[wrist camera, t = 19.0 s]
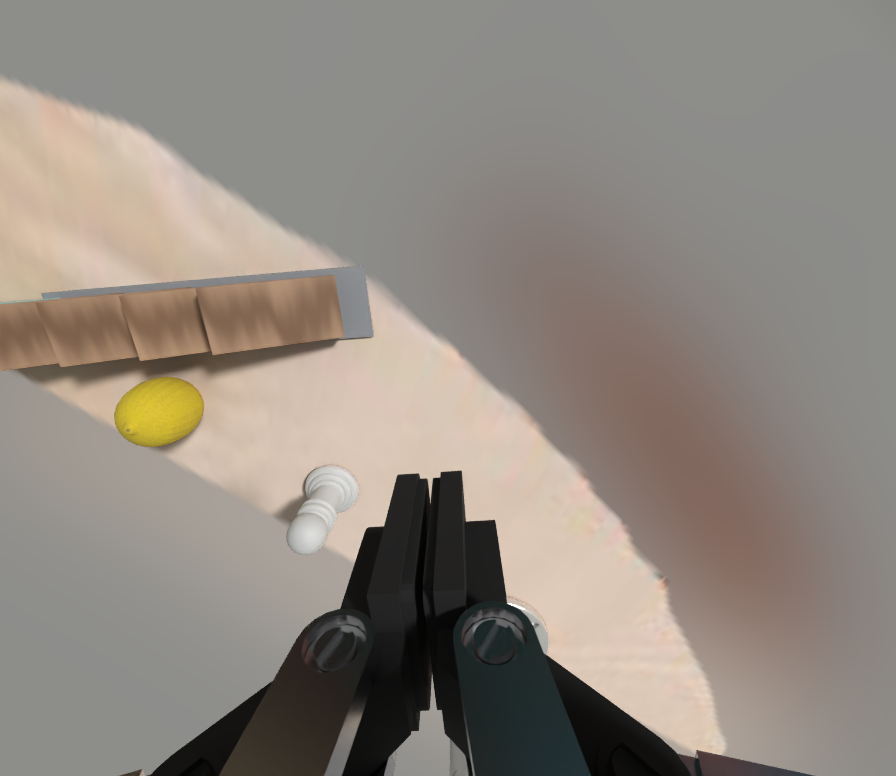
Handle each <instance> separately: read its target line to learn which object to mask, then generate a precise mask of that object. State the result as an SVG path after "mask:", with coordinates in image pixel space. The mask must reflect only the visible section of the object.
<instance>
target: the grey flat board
mask: <svg viewBox="0 0 896 776" xmlns="http://www.w3.org/2000/svg"><path fill="white" fill-rule="evenodd" d="M326 275H335V280H336V286H337V293H338V299H339V305H340V311H341V318H342V324H343V330H344V336H345V337H342V338H334V339H346V338H359V337H372V336H374V335H373V328H372V321H371V314H370V307H369V300H368V293H367V286H366V279H365V271H364V266H354V267H342V268H330V269H319V270H307V271H295V272H284V273H272V274H260V275H249V276H237V277H225V278H214V279H202V280H190V281H179V282H167V283H155V284H143V285H132V286H120V287H108V288H97V289H85V290H73V291H62V292H50V293H41V294H42V297H43V299H49V298H70V297H80V296H91V295H101V294H112V293H122V292H123V293H133V292H143V291H153V290H163V289H174V288H184V287H192V288H195V287H206V286H216V285H226V284H236V283H246V282H256V281H272V280H283V279H294V278H305V277H315V276H326ZM327 340H333V339H327ZM320 341H321V340H320Z"/></svg>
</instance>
